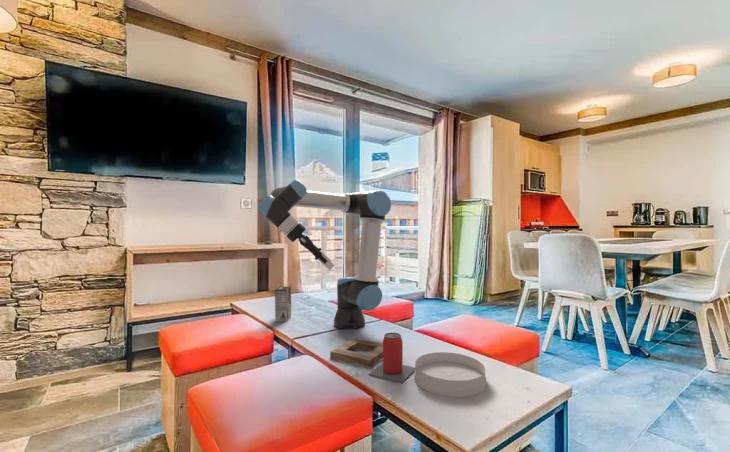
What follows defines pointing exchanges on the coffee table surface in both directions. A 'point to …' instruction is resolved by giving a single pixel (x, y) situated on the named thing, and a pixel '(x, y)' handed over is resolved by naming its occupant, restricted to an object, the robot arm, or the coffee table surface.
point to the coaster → (393, 377)
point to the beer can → (392, 353)
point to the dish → (450, 374)
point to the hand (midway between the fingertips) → (331, 265)
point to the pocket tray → (357, 358)
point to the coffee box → (283, 303)
